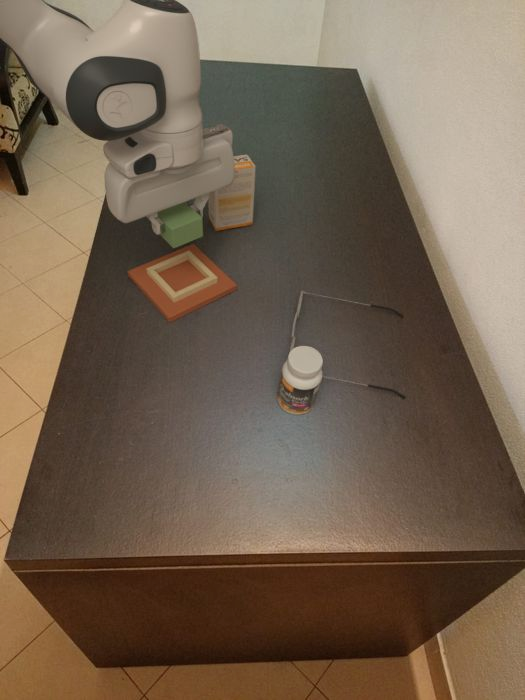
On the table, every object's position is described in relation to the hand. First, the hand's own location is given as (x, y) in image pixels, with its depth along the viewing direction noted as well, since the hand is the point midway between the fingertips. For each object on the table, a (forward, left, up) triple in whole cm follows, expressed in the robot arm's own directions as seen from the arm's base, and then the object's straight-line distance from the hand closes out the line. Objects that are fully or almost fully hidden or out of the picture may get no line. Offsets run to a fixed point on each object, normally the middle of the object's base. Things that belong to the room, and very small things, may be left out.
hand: (178, 224), depth 75 cm
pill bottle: (0, -31, -13) cm, 34 cm away
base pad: (0, 0, -13) cm, 13 cm away
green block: (0, 0, -2) cm, 2 cm away
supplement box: (+18, +10, -13) cm, 24 cm away
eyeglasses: (+14, -28, -13) cm, 34 cm away
